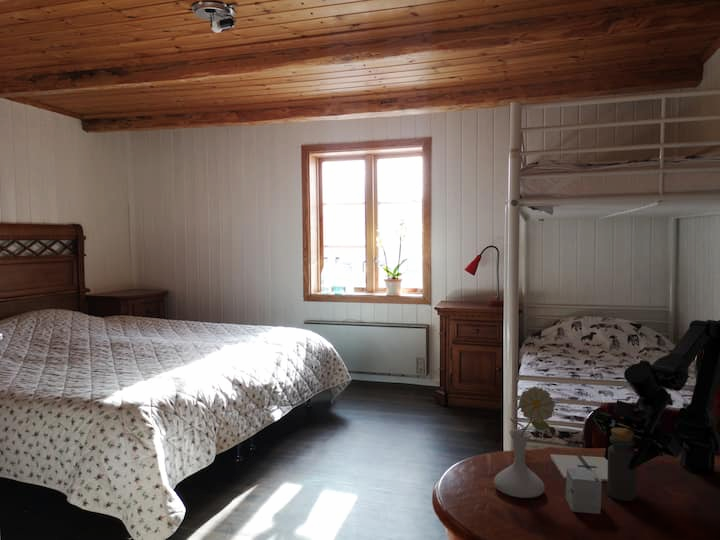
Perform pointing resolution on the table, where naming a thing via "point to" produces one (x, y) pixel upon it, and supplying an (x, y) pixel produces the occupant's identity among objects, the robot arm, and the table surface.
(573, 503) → the skincare box
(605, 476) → the letter card
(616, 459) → the bottle
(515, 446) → the flower in vase
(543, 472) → the table surface
